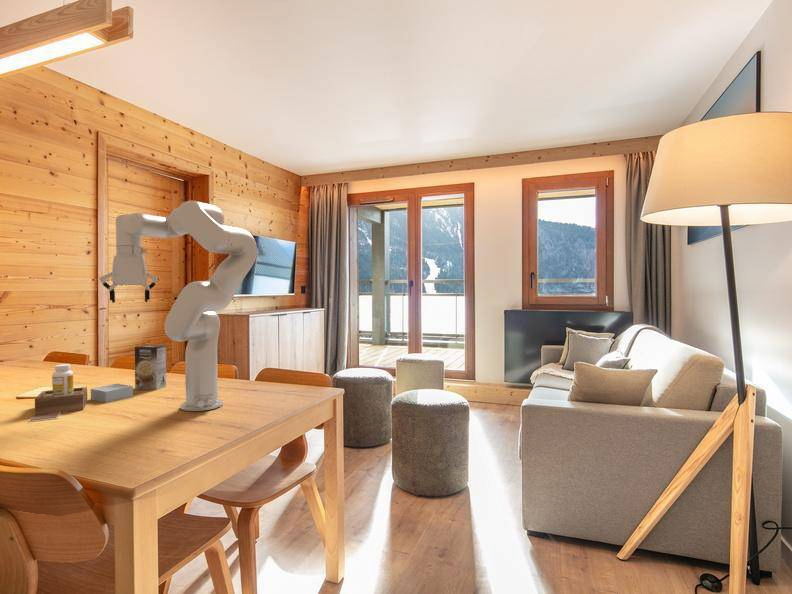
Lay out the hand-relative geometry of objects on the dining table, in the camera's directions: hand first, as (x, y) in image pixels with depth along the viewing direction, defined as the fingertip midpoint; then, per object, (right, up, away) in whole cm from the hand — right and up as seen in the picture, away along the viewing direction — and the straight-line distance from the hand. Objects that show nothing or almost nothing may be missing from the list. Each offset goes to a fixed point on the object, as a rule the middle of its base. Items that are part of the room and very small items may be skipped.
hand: (130, 302), depth 154 cm
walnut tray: (-16, -34, -10) cm, 38 cm away
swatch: (-13, -34, -20) cm, 42 cm away
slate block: (-8, -34, +2) cm, 35 cm away
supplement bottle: (-15, -30, -10) cm, 35 cm away
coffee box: (-3, -33, +18) cm, 38 cm away
